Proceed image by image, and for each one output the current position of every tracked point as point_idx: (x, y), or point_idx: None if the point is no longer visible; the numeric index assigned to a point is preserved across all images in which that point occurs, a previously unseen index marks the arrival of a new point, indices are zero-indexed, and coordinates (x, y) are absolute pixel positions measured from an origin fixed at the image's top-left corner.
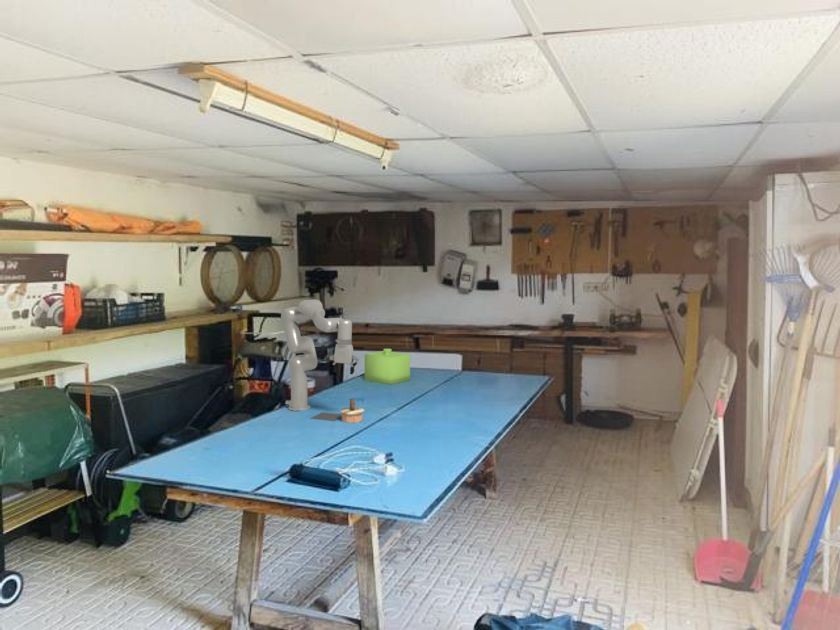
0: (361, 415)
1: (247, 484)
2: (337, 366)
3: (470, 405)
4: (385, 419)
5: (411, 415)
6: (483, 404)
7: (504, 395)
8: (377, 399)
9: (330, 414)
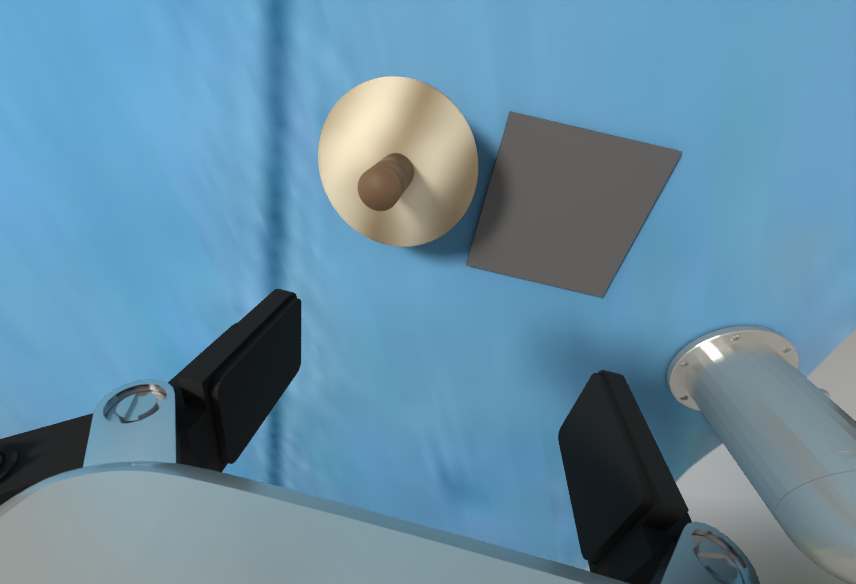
0: None
1: None
2: (577, 521)
3: None
4: (254, 215)
5: (182, 296)
6: None
7: None
8: (394, 484)
9: (551, 260)
